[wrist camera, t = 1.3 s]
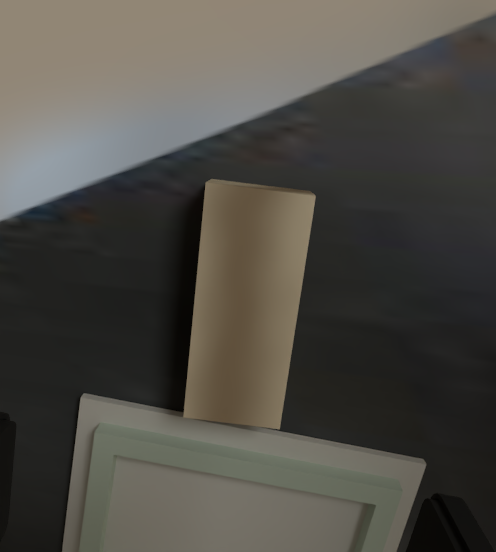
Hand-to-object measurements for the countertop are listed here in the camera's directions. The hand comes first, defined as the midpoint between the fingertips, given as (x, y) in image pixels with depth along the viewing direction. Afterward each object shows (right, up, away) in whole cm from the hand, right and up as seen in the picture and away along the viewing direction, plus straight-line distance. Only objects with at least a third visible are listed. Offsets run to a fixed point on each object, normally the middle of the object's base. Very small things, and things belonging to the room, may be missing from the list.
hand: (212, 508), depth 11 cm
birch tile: (+1, +4, +15) cm, 16 cm away
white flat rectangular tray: (0, -10, +18) cm, 21 cm away
